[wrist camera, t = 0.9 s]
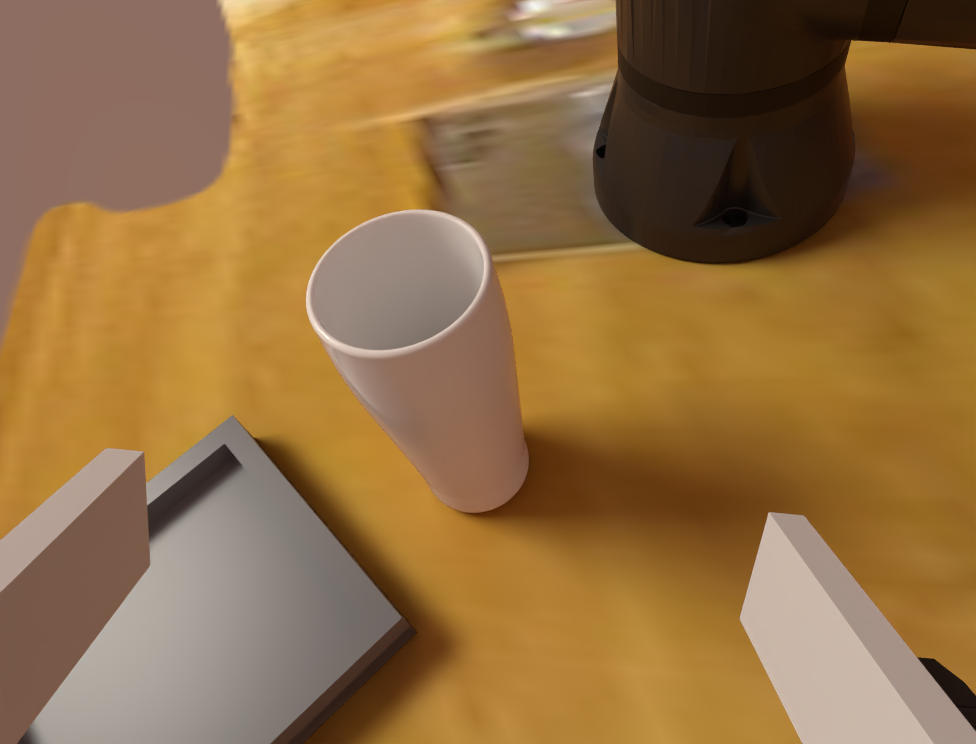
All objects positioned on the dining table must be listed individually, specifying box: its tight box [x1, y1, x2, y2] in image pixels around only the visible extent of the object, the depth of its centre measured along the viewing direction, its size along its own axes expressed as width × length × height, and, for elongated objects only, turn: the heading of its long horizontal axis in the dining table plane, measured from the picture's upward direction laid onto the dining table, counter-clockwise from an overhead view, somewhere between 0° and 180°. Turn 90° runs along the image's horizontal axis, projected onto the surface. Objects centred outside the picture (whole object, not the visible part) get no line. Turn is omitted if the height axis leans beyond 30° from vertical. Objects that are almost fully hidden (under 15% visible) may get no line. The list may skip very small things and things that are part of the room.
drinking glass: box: [306, 210, 529, 513], centre depth 31 cm, size 7×7×15 cm
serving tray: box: [17, 415, 417, 744], centre depth 33 cm, size 17×15×2 cm
